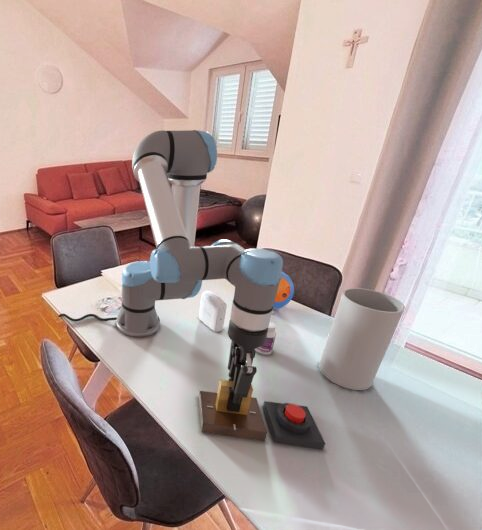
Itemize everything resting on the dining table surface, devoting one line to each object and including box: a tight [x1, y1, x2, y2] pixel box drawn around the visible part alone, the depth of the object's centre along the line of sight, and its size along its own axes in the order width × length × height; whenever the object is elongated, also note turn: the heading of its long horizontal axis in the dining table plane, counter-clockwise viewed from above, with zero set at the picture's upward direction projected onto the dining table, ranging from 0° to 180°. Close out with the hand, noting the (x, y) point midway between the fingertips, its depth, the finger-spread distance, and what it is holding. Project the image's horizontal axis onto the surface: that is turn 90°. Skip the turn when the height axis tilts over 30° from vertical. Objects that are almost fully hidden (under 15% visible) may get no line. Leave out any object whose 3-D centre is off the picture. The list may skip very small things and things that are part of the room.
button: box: [285, 403, 306, 424], centre depth 72 cm, size 4×4×2 cm
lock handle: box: [215, 379, 254, 415], centre depth 74 cm, size 7×2×8 cm, turn 80°
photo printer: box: [198, 290, 228, 333], centre depth 111 cm, size 10×4×12 cm, turn 23°
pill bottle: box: [255, 321, 277, 356], centre depth 98 cm, size 5×5×10 cm
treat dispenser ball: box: [273, 271, 295, 310], centre depth 122 cm, size 16×15×15 cm
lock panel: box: [197, 390, 268, 442], centre depth 76 cm, size 14×11×3 cm
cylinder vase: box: [318, 287, 406, 391], centre depth 85 cm, size 12×12×25 cm
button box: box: [262, 400, 326, 451], centre depth 73 cm, size 10×10×4 cm
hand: (231, 405), depth 75 cm, fingers closed on lock handle, 2 cm apart
